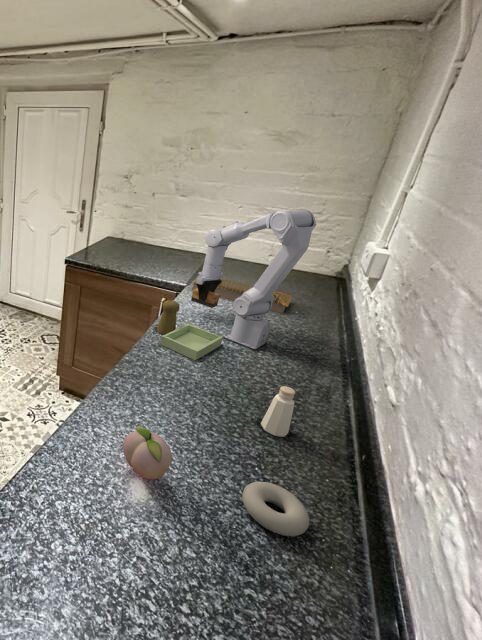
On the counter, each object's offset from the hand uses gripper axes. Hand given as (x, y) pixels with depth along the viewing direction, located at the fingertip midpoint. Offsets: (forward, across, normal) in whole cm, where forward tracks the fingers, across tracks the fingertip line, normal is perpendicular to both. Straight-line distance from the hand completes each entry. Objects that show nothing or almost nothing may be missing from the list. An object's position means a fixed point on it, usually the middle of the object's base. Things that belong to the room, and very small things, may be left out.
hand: (204, 298), depth 144 cm
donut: (+8, +70, +51) cm, 86 cm away
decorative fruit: (+8, +81, +32) cm, 87 cm away
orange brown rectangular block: (+2, 0, 0) cm, 2 cm away
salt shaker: (+8, +44, +42) cm, 61 cm away
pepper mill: (+7, +22, -1) cm, 23 cm away
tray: (+7, +24, +9) cm, 26 cm away
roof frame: (+7, -32, -1) cm, 33 cm away
